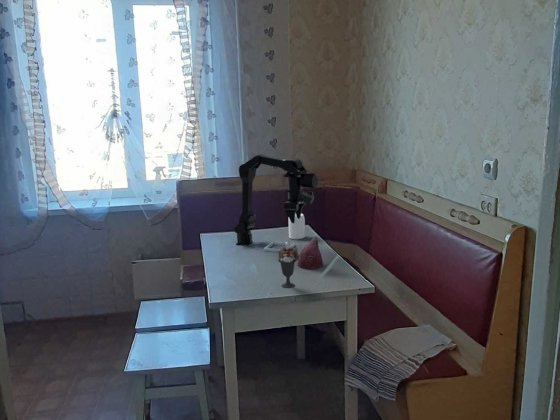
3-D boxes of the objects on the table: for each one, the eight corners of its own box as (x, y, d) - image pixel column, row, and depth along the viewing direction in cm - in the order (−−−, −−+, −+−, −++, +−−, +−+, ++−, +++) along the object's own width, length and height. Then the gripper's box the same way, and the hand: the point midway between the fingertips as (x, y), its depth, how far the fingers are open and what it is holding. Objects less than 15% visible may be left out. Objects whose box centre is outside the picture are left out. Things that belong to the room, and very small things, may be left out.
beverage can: (305, 239, 247) (304, 216, 245) (289, 240, 247) (288, 216, 245) (304, 235, 255) (304, 212, 253) (289, 236, 255) (288, 213, 253)
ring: (278, 257, 215) (278, 251, 215) (283, 253, 221) (283, 247, 221) (295, 259, 213) (294, 252, 212) (299, 254, 219) (299, 248, 218)
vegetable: (323, 272, 207) (333, 238, 205) (317, 277, 198) (327, 241, 195) (300, 264, 211) (309, 231, 208) (293, 269, 201) (302, 234, 198)
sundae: (291, 290, 180) (290, 250, 177) (276, 287, 183) (274, 248, 180) (300, 284, 185) (299, 245, 182) (285, 281, 189) (284, 243, 186)
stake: (278, 260, 216) (277, 243, 214) (283, 255, 222) (283, 239, 220) (293, 261, 213) (292, 244, 212) (298, 256, 220) (297, 240, 218)
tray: (263, 252, 227) (263, 248, 227) (272, 246, 238) (272, 241, 237) (287, 254, 223) (287, 249, 223) (295, 247, 234) (295, 243, 233)
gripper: (306, 190, 212) (307, 226, 216) (317, 184, 230) (318, 217, 233) (281, 190, 216) (283, 225, 219) (294, 183, 233) (295, 216, 236)
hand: (295, 220), depth 227 cm, fingers open, 9 cm apart
